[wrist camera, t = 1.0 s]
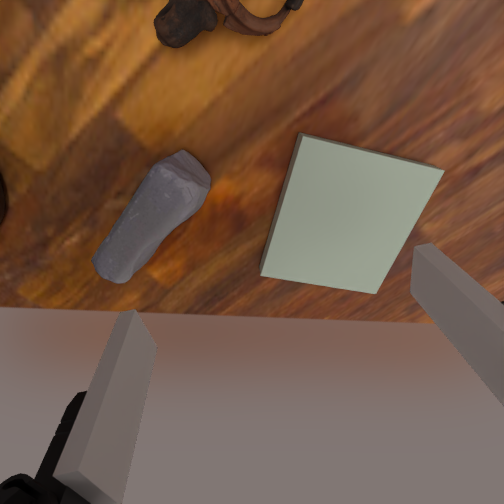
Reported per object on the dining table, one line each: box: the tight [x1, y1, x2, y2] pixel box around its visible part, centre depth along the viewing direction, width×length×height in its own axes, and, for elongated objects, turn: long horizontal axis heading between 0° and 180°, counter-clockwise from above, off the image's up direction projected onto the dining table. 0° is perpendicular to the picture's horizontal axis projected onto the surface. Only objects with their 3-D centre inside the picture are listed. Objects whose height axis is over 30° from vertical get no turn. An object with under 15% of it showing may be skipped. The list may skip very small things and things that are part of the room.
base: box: [259, 132, 444, 294], centre depth 34 cm, size 15×16×2 cm
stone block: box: [91, 149, 211, 283], centre depth 27 cm, size 12×5×10 cm, turn 138°
